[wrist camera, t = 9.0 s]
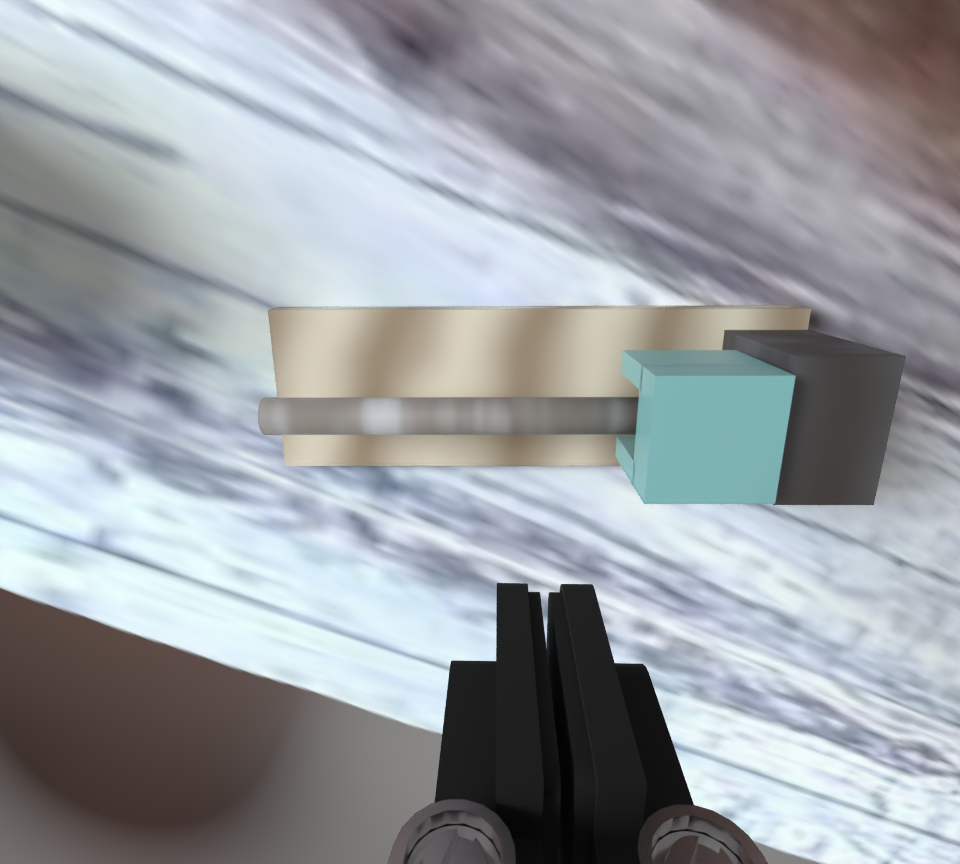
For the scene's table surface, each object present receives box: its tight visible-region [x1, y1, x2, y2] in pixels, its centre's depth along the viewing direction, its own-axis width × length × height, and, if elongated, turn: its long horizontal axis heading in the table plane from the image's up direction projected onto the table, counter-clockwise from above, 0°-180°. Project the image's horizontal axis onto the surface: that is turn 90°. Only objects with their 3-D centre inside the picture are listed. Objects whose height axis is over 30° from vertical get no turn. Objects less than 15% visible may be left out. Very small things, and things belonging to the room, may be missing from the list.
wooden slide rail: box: [258, 306, 906, 505], centre depth 27 cm, size 26×8×8 cm, turn 90°
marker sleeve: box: [615, 350, 796, 504], centre depth 25 cm, size 5×5×5 cm
